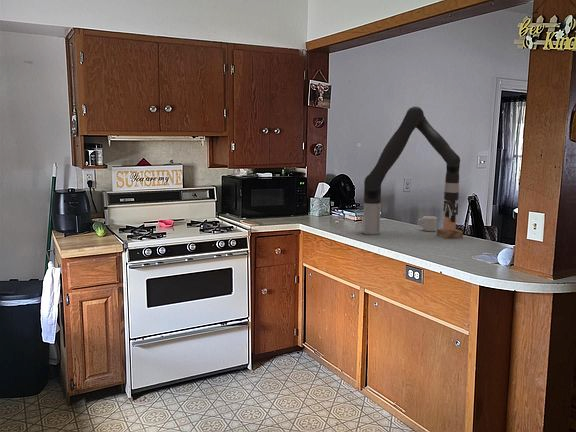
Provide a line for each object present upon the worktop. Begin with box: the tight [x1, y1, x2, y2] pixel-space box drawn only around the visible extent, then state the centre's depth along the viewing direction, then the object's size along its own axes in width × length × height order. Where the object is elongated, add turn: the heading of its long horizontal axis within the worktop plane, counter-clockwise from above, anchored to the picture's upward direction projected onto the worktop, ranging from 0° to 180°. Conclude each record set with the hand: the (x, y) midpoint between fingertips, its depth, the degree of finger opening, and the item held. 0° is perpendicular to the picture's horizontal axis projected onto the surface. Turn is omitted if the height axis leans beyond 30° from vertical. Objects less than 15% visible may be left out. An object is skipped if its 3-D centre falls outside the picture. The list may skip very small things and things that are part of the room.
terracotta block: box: [442, 216, 457, 231], centre depth 292 cm, size 5×5×7 cm
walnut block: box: [436, 228, 464, 240], centre depth 292 cm, size 10×10×4 cm
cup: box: [417, 215, 438, 232], centre depth 310 cm, size 11×8×8 cm
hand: (449, 221), depth 291 cm, fingers open, 8 cm apart
